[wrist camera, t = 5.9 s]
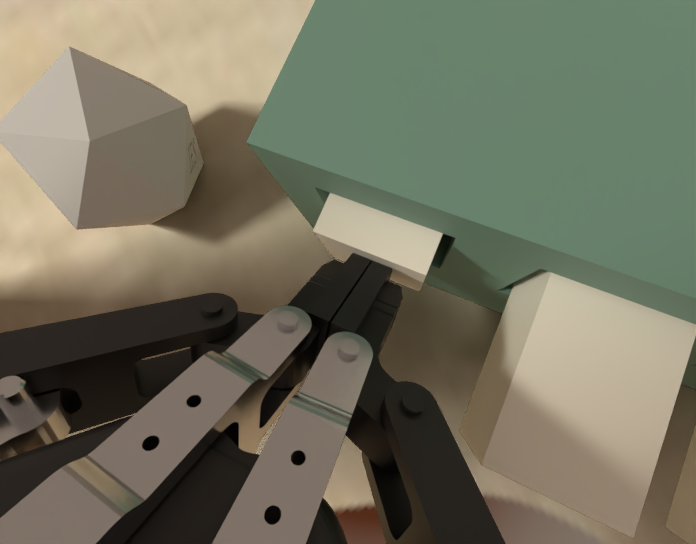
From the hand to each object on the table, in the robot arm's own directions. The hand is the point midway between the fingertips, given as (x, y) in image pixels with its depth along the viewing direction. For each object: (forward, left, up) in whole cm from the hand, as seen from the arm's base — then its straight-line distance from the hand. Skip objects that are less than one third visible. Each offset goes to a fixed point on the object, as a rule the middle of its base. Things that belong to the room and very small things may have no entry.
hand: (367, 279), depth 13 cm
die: (-14, +7, -7) cm, 17 cm away
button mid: (+6, -3, -2) cm, 7 cm away
